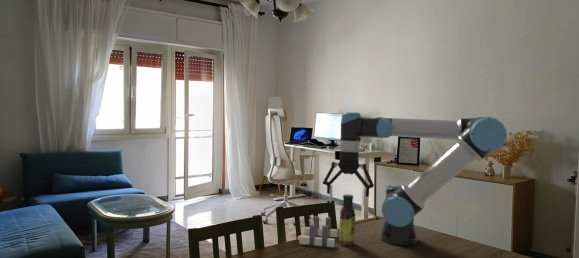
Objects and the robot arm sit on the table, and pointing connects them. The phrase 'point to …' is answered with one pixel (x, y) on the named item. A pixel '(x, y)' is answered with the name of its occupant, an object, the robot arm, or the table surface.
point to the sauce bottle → (347, 221)
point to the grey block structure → (319, 234)
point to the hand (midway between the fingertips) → (347, 203)
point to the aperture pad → (302, 235)
